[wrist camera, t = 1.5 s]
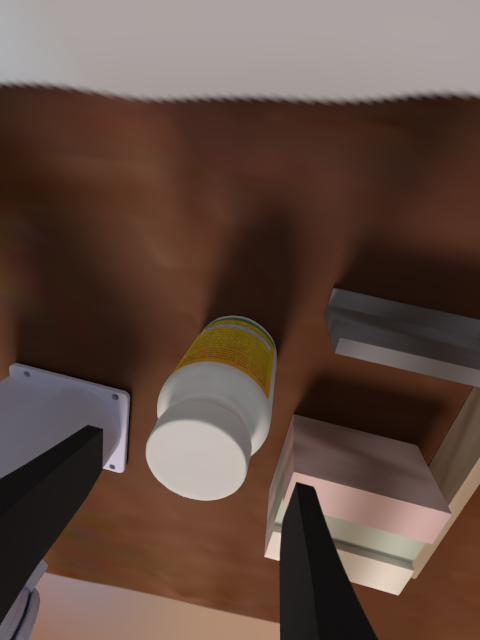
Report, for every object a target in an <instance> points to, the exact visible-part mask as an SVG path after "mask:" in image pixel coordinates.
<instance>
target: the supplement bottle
mask: <svg viewBox="0 0 480 640" xmlns="http://www.w3.org/2000/svg"><path fill="white" fill-rule="evenodd" d="M276 366H277V351H276V346H275V344H274V341H273V339H272V337H271V336H270V334H269V333H268V332H267V331H266V330H265V329H264V328H263V327H262V326H261V325H259V324H258V323H257V322H255V321H253V320H251V319H249V318H246V317H242V316H225V317H220V318H218V319H216V320H214V321H212V322H211V323H209V324H208V325H207V326H206V327H205V328H204V329H203V330H202V332H201V333H200V334H199V336H198V337H197V338H196V340H195V341H194V343H193V344H192V345H191V347H190V348H189V350H188V351H187V353H186V354H185V355H184V357H183V358H182V360H181V361H180V363H179V364H178V366H177V367H176V368H175V369H174V371H173V372H172V373H171V375H170V376H169V377H168V379H167V380H166V382H165V384H164V386H163V388H162V389H161V392H160V395H159V398H158V403H157V415H158V421H157V423H156V425H155V427H154V429H153V431H152V432H151V434H150V436H149V438H148V441H147V445H146V458H147V462H148V465H149V467H150V470H151V471H152V473H153V474H154V476H155V477H156V478H157V479H158V480H159V481H160V482H161V483H162V484H163V485H164V486H166V487H167V488H168V489H170V490H171V491H173V492H175V493H177V494H179V495H181V496H184V497H187V498H191V499H197V500H216V499H221V498H224V497H226V496H228V495H230V494H232V493H234V492H235V491H236V490H237V489H238V488H239V487H240V486H241V485H242V483H243V481H244V480H245V477H246V474H247V469H248V465H249V460H250V457H251V455H253V454H254V453H255V452H256V451H257V450H258V449H259V448H260V447H261V446H262V444H263V443H264V441H265V439H266V437H267V435H268V432H269V428H270V423H271V415H272V404H273V394H274V383H275V375H276Z"/></svg>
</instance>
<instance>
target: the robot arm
mask: <svg viewBox="0 0 480 640" xmlns="http://www.w3.org/2000/svg"><path fill="white" fill-rule="evenodd" d="M28 372H29V373H30V374H29V373H28ZM9 373H10V376H9V377H8V378H6V379H4V380H3V381H1V382H0V640H29V639H30V636H31V633H32V630H33V627H34V624H35V621H36V618H37V614H38V610H39V604H40V597H39V593H38V591H37V590H36V588H35V586H36V584H37V583H38V581H39V580H40V578H41V577H42V575H43V574H44V572H45V571H46V569H47V568H48V565H47V564H46V562H45V561H44V560H43V557H44V556H45V555H46V553H47V552H48V550H49V549H50V548H51V546H52V545H53V543H54V542H55V541H56V539H57V538H58V537H59V535H60V534H61V532H62V531H63V530H64V528H65V527H66V526H67V524H68V523H69V521H70V520H71V519H72V517H73V516H74V514H75V513H76V512H77V510H78V509H79V507H80V506H81V505H82V503H83V502H84V500H85V499H86V497H87V496H88V494H89V492H90V491H91V489H92V487H93V486H94V484H95V482H96V480H97V478H98V477H99V475H100V473H101V471H102V469H103V468H104V469H107V470H111V471H114V472H118V473H121V472H123V471H124V470H125V468H126V459H127V443H128V426H129V410H130V395H129V393H128V392H126V391H124V390H120V389H116V388H112V387H108V386H104V385H100V384H97V383H93V382H89V381H85V380H81V379H77V378H73V377H69V376H66V375H62V374H58V373H54V372H50V371H46V370H42V369H39V368H35V367H31V366H27V365H23V364H19V363H14V364H12V365H11V366H10V367H9ZM115 394H116V395H117V396H118V397H117V396H115ZM280 640H378V638H377V636H376V634H375V632H374V631H373V629H372V627H371V625H370V623H369V621H368V619H367V617H366V615H365V613H364V611H363V609H362V607H361V604H360V602H359V600H358V598H357V596H356V594H355V592H354V589H353V587H352V585H351V583H350V580H349V578H348V576H347V574H346V571H345V569H344V567H343V564H342V562H341V559H340V557H339V554H338V552H337V549H336V547H335V544H334V542H333V539H332V537H331V534H330V531H329V529H328V526H327V523H326V520H325V517H324V515H323V512H322V509H321V506H320V502H319V499H318V496H317V493H316V489H315V488H314V486H310V485H306V484H303V483H299V482H296V484H295V487H294V489H293V492H292V495H291V498H290V501H289V503H288V506H287V509H286V512H285V515H284V517H283V520H282V531H281V542H280Z"/></svg>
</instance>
